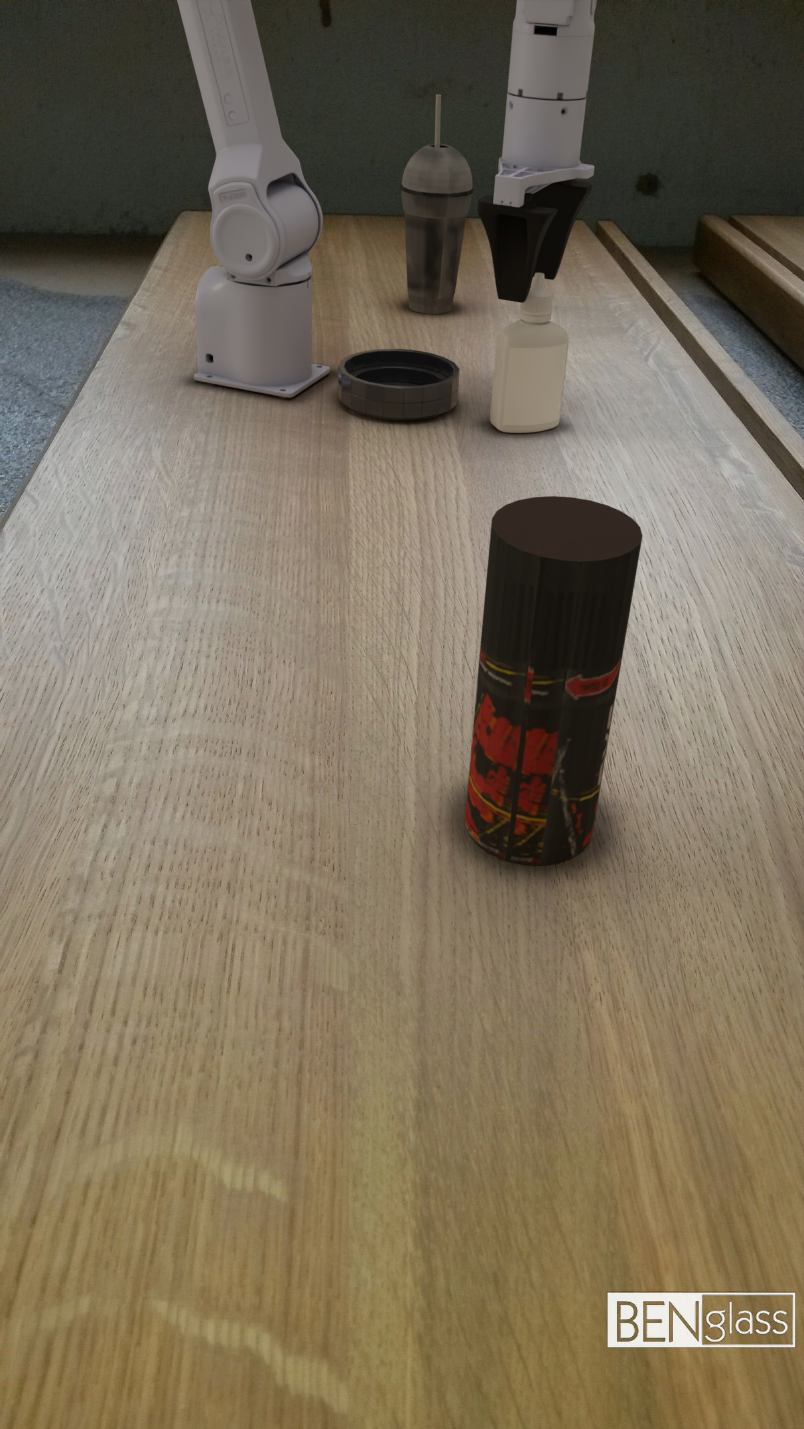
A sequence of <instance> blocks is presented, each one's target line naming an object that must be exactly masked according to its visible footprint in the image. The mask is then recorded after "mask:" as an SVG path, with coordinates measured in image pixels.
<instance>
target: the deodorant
mask: <svg viewBox="0 0 804 1429" xmlns="http://www.w3.org/2000/svg"><path fill="white" fill-rule="evenodd" d="M642 542H643V533H642V528H641V526H640V525H639V524H638V523H637V522H636V520H635V519H634V518H632V517H631V516H630V515H628V514H627V513H625V512H624V511H622V510H620V509H617V508H615V507H612V506H611V505H608V504H605V503H601V502H597V501H594V500H590V499H585V498H578V497H573V496H558V495H549V496H533V497H528V498H522V499H518V500H514V501H512V502H509V503H506V504H504V505H503V506H502V507H500V508H499V509H498V510H496V511H495V513H494V514H493V516H492V518H491V525H490V536H489V544H488V545H489V547H488V557H487V570H486V579H485V591H484V592H485V593H484V602H483V613H482V624H481V634H480V635H481V636H480V645H479V658H478V667H477V678H476V688H475V701H474V710H473V711H474V713H473V724H472V733H471V744H470V745H471V746H470V756H469V770H468V779H467V789H466V800H465V812H464V818H465V819H464V825H465V827H466V830H467V832H468V835H469V836H470V837H471V839H472V840H473V841H474V842H475V843H476V845H477V846H478V847H480V848H482V849H483V850H484V851H486V852H488V853H489V854H490V855H493V856H495V857H497V858H500V859H502V860H504V861H507V862H511V863H516V864H520V865H530V866H546V865H554V864H559V863H562V862H566V861H568V860H571V859H573V858H574V857H576V856H578V855H579V854H581V853H582V852H583V851H584V850H585V849H586V848H587V846H589V844H590V843H591V840H592V836H593V833H594V829H595V822H596V816H597V811H598V805H599V799H600V793H601V786H602V781H603V775H604V768H605V763H606V758H607V757H606V756H607V751H608V744H609V739H610V734H611V726H612V722H613V714H614V709H615V703H616V697H617V690H618V684H619V680H620V679H619V678H620V673H621V667H622V663H623V662H622V661H623V655H624V650H625V643H626V637H627V631H628V625H629V620H630V619H629V618H630V613H631V606H632V602H633V601H632V600H633V595H634V589H635V584H636V578H637V572H638V565H639V559H640V554H641V547H642Z"/></svg>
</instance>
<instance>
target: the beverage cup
mask: <svg viewBox="0 0 804 1429" xmlns="http://www.w3.org/2000/svg"><path fill="white" fill-rule="evenodd" d="M441 110H442V95H441V94H435V113H434V115H435V118H434V120H435V121H434V143H430V144H427V145H425V146H423V147H421V148H419V149H418V150H417V151H416V152H415V153H414V154H413V155H412V156H411V157H410V158H409V161H408V162H407V164H406V165H405V168H404V170H403V174H402V179H401V184H400V187H399V189H400V191H401V203H402V210H403V211H404V235H405V260H406V261H405V264H406V288H407V289H406V290H407V297H408V308H409V309H410V311H413V312H416V313H419V314H420V313H421V314H427V315H441V314H446V313H449V312H451V311H452V310H453V303H454V298H455V294H456V288H457V281H458V276H459V270H460V261H461V254H462V248H463V242H464V235H465V229H466V221H467V215H468V213H469V211H470V207H471V203H472V195H473V194H474V192H475V191H474V186H473V175H472V171H471V168H470V166H469V163H468V161H467V160H466V158H465V157H464V155H463V154H462V153H461V152H460V151H459V150H458V149H456V148H455V147H453V146H451V145H449V144H446V143H445V144H444V143H441V112H442V111H441Z"/></svg>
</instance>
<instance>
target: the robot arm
mask: <svg viewBox="0 0 804 1429" xmlns="http://www.w3.org/2000/svg"><path fill="white" fill-rule="evenodd" d="M176 1H177V4H178V9H179V13H180V17H181V21H182V24H183V29H184V33H185V36H186V41H187V44H188V48H189V53H190V56H191V60H192V64H193V68H194V72H195V75H196V76H195V77H196V79H197V83H198V87H199V91H200V95H201V99H202V103H203V107H204V110H205V115H206V119H207V124H208V126H209V130H210V135H211V138H212V142H213V146H214V150H215V161H214V163H213V167H212V170H211V174H210V178H209V181H208V186H207V190H208V194H209V198H210V204H211V220H210V221H211V222H210V228H209V238H210V239H209V240H210V245H211V248H212V250H213V254H214V256H215V257H216V259H217V262H219V264H220V265H214V266H211V267H209V268H207V269H206V270H205V272H204V273H203V274H202V276H201V277H200V279H199V281H198V284H197V288H196V292H195V300H194V315H195V316H194V317H195V337H196V356H197V358H196V359H197V372H195V373H194V374H193V380H194V381H197V382H201V383H206V384H213V385H218V386H222V387H229V388H232V389H233V388H234V389H239V390H245V391H249V392H255V393H259V394H266V395H272V396H277V397H281V398H288V399H290V398H294V397H295V396H296V395H298V394H300V393H301V392H302V391H304V390H306V389H307V388H309V387H310V386H311V385H313V384H315V383H316V382H318V381H319V380H321V379H322V378H324V377H325V376H327V375H329V374H330V373H331V368H330V366H327V365H322V364H316V363H313V265H312V263H311V260H310V251H312V250H313V249H314V247H316V246H317V244H318V242H319V240H320V238H321V236H322V232H323V229H324V228H323V227H324V216H323V215H324V214H323V210H322V207H321V204H320V202H319V199H318V198H317V196H316V195H315V193H314V192H313V190H311V188H310V187H309V185H308V184H307V182H306V180H305V177H304V174H303V170H302V166H301V161H300V159H299V157H298V156H296V154H295V153H294V151H293V150H292V149H291V147H289V145H288V144H287V142H286V141H285V140H284V138H283V136H282V132H281V128H280V122H279V118H278V115H277V114H278V113H277V111H276V110H277V108H276V106H275V101H274V97H273V92H272V87H271V84H270V79H269V75H268V70H267V67H266V62H265V57H264V53H263V50H262V49H263V48H262V45H261V40H260V36H259V32H258V27H257V23H256V18H255V14H254V9H253V6H252V0H176ZM597 4H598V0H516V4H515V17H514V19H513V21H512V22H513V23H512V31H511V32H512V33H511V45H510V56H509V57H510V58H509V67H508V68H509V69H508V81H507V93H506V103H505V117H504V127H503V138H502V139H503V140H502V151H501V152H502V153H501V156H500V157H499V158H498V167H497V169H498V173H497V174H495V175H494V176H495V178H494V187H493V188H494V189H493V195H490V194H489V195H488V194H485V195H483V196H481V197H479V198H478V199H477V206H476V208H477V215H478V216H479V219H480V220H481V224H482V225H483V229H484V230H485V234H486V236H487V240H488V244H489V249H490V253H491V257H492V266H493V275H494V282H495V289H496V295H497V299H498V300H502V301H507V302H515V303H520V304H521V303H523V302H525V301H526V299H527V296H528V294H529V291H530V288H531V285H532V283H533V279H534V276H535V273H543V274H544V278H545V280H550V281H554V280H555V279H556V278H557V275H558V273H559V270H560V267H561V264H562V261H563V258H564V255H565V251H566V249H567V245H568V243H569V242H568V241H569V238H570V235H571V232H572V230H573V227H574V224H575V222H576V220H577V218H578V215H579V213H581V212H580V211H581V210H582V209H583V206H584V204H585V202H586V201H587V200H588V198H589V197H590V195H591V193H592V189H593V184H592V182H589V181H586V179H590V178H592V177H593V176H595V175H594V174H595V166H594V165H593V164H589V163H588V164H586V163H582V161H581V160H580V157H581V149H582V140H583V133H584V132H583V131H584V123H585V114H586V105H587V97H588V92H589V83H590V82H589V80H590V74H591V66H592V65H591V64H592V55H593V48H594V47H593V46H594V40H595V39H594V38H595V37H594V36H595V29H596V25H595V12H596V8H597ZM578 179H582V180H578Z"/></svg>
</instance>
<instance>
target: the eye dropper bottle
mask: <svg viewBox="0 0 804 1429" xmlns="http://www.w3.org/2000/svg"><path fill="white" fill-rule="evenodd" d="M553 303H554V292H552V291H551V290H550V289H548V288H547V287H546V279H545V278H544V274H543V273H535V276H534V277H533V280H532V284H531V288H530V291H529V294H528V296H527V299H526V301H525V302H523V303H520V308H519V320H516V321H514V322H511V323H510V324H508V325H506V326H504V327H503V328H502V329H501V330H500V331H499V333H498V335H497V339H496V347H495V355H494V367H493V378H492V390H491V391H492V392H491V399H490V400H491V401H490V402H491V403H490V411H489V412H490V413H489V421H490V424H492V426H494V427H495V428H496V429H497V430H498V431H500V432H503V433H511V434H512V433H513V434H526V433H527V434H528V433H537V432H542V431H547V430H551V429H554V428H556V427H557V426H558V425H559V423H560V420H561V413H562V405H563V398H564V397H563V396H564V388H565V380H566V370H567V363H568V354H569V353H568V351H569V342H570V341H569V338H570V337H569V334H568V332H567V330H565V328H564V327H562V326H561V325H560V324H558V323H556V322H553V321H551V320H552V312H553Z"/></svg>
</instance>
